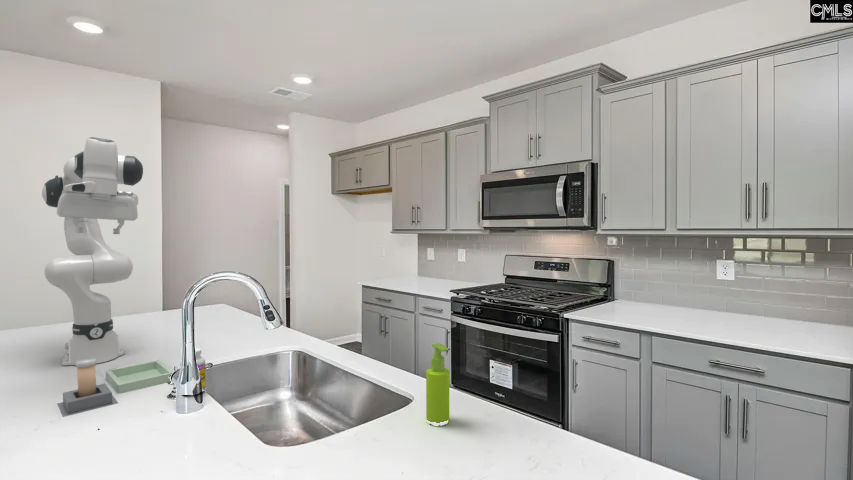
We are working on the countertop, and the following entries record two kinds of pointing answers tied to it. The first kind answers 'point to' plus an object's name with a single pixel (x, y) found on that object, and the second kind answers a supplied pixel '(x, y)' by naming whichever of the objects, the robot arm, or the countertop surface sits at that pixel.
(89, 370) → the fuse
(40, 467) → the countertop surface
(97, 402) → the socket block
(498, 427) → the countertop surface
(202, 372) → the supplement bottle
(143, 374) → the parts tray
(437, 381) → the soap dispenser
